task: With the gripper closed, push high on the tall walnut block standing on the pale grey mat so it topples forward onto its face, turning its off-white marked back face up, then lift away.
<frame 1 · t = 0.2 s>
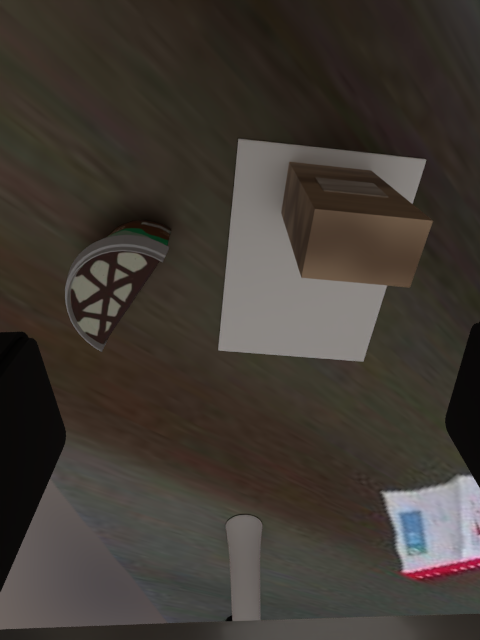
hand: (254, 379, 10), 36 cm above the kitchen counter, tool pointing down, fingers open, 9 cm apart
food container: (124, 247, 46), on the kitchen counter
grey mat: (309, 264, 47), on the kitchen counter
cosmetic bottle: (243, 524, 71), on the kitchen counter
walnut block: (325, 192, 43), resting on grey mat
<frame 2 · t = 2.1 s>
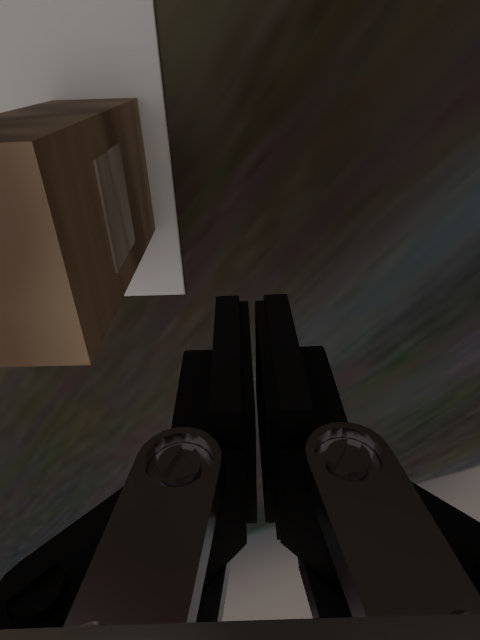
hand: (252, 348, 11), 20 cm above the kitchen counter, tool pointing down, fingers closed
walnut block: (107, 169, 27), resting on grey mat
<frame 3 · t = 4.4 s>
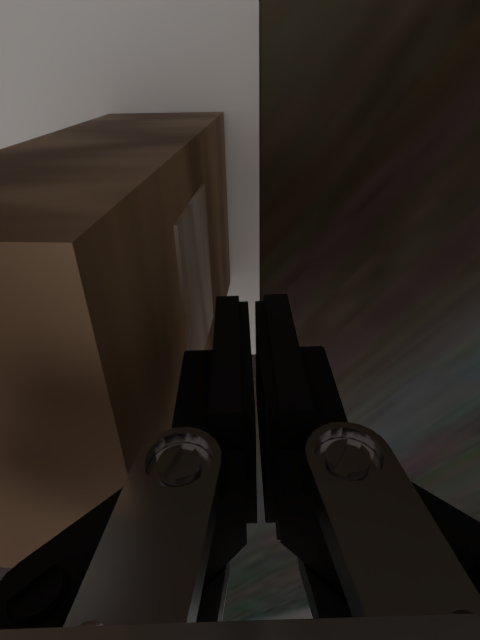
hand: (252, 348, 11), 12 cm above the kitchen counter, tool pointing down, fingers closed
grey mat: (14, 205, 21), on the kitchen counter
walnut block: (175, 205, 21), point 1 cm above the kitchen counter, tilted 6°, touching grey mat
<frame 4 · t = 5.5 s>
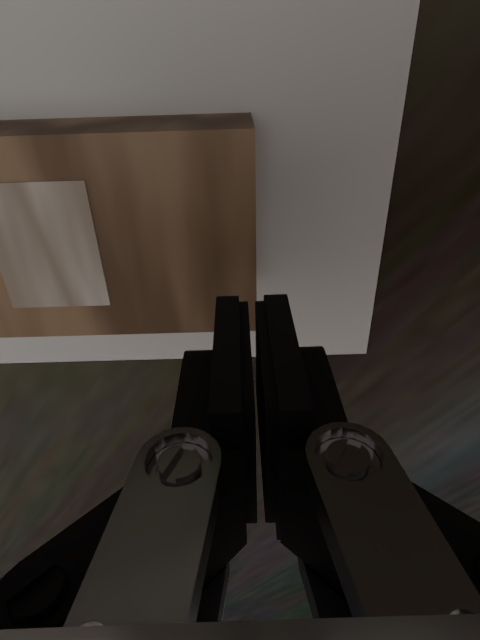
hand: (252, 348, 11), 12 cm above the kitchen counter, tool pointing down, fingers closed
grey mat: (140, 205, 21), on the kitchen counter
walnut block: (253, 221, 19), point 3 cm above the kitchen counter, tilted 90°, touching grey mat
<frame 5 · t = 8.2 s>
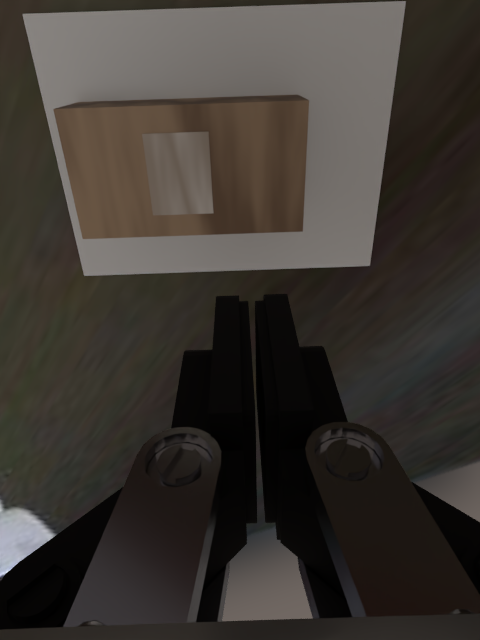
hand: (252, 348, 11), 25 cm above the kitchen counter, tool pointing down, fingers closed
grey mat: (221, 157, 32), on the kitchen counter
walnut block: (300, 162, 30), point 3 cm above the kitchen counter, tilted 90°, touching grey mat
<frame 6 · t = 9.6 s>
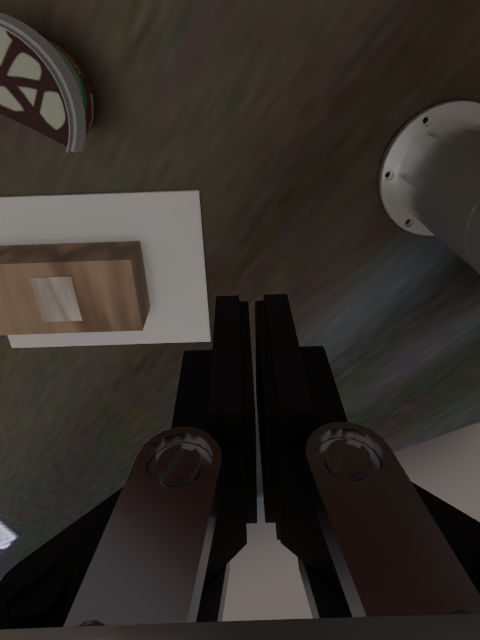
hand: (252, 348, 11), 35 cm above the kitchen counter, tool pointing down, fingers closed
food container: (52, 66, 38), on the kitchen counter
grey mat: (97, 275, 48), on the kitchen counter
walnut block: (141, 285, 45), point 3 cm above the kitchen counter, tilted 90°, touching grey mat
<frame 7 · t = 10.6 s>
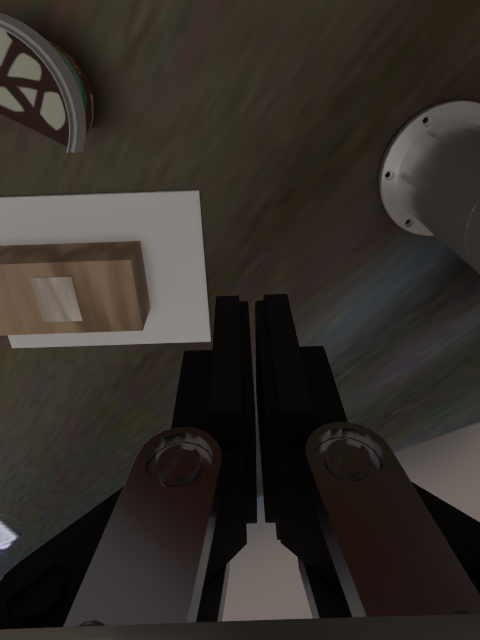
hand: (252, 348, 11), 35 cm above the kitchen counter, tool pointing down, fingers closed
food container: (52, 66, 38), on the kitchen counter
grey mat: (97, 275, 48), on the kitchen counter
walnut block: (141, 285, 45), point 3 cm above the kitchen counter, tilted 90°, touching grey mat
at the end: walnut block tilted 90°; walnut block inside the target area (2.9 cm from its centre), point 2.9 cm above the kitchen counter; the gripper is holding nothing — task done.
